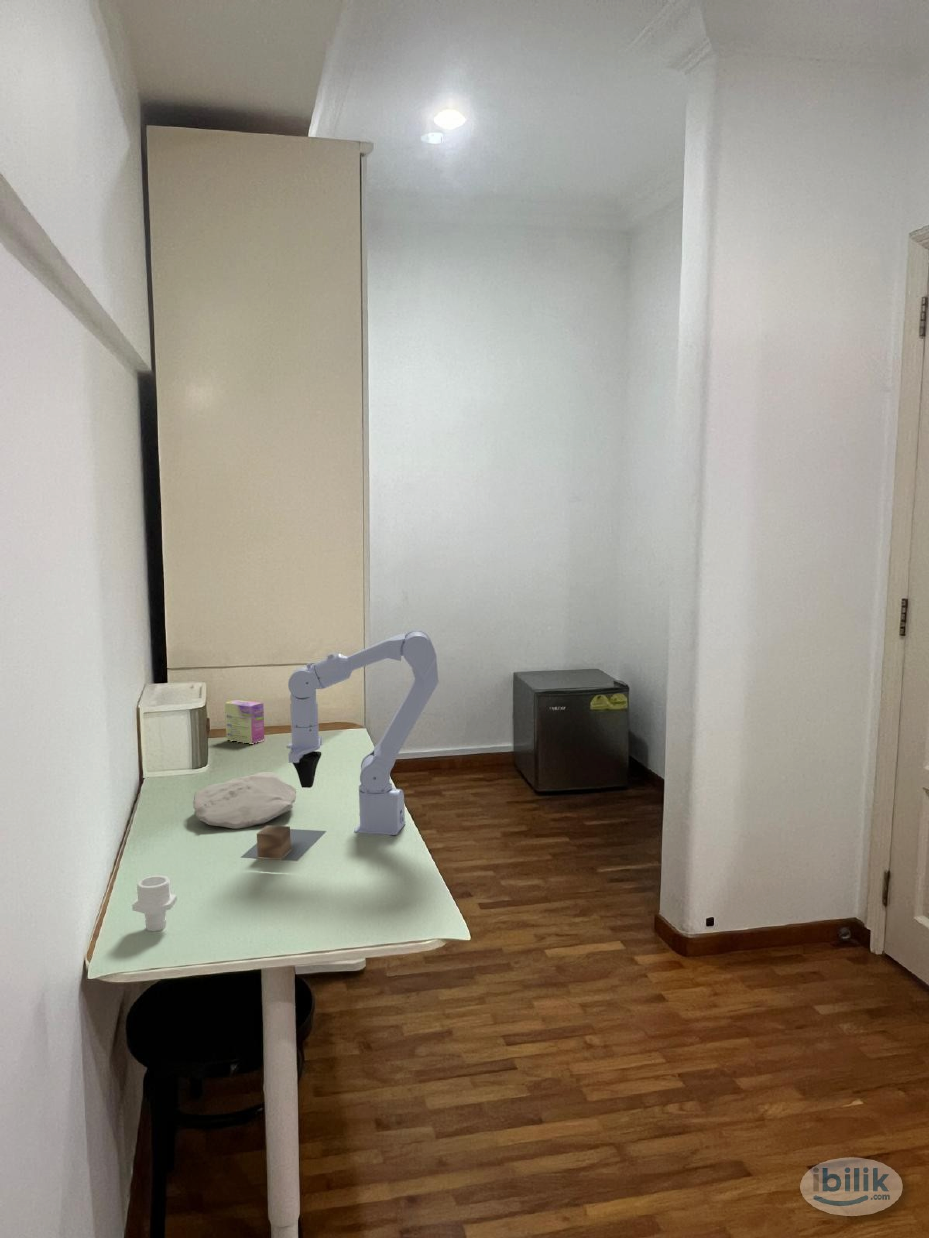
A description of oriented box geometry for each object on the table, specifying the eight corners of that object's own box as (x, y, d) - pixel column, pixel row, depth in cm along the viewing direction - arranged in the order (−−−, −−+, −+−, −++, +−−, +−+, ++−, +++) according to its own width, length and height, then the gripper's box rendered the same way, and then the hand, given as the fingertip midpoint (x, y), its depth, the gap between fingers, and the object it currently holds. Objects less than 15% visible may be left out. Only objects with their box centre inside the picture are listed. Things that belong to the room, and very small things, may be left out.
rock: (305, 786, 234) (292, 838, 204) (210, 791, 232) (183, 843, 203) (303, 757, 232) (290, 805, 203) (208, 761, 231) (181, 810, 201)
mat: (326, 832, 202) (326, 830, 202) (297, 861, 185) (297, 860, 185) (274, 829, 204) (273, 828, 204) (240, 858, 187) (240, 857, 187)
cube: (280, 835, 185) (281, 859, 186) (289, 826, 190) (290, 850, 191) (256, 833, 186) (257, 858, 187) (266, 825, 191) (267, 848, 192)
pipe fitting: (182, 929, 156) (179, 883, 156) (137, 939, 153) (134, 892, 152) (173, 915, 162) (170, 870, 161) (130, 924, 158) (127, 879, 157)
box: (265, 740, 281) (263, 702, 280) (252, 745, 277) (250, 706, 275) (239, 737, 287) (237, 699, 285) (226, 741, 282) (224, 702, 280)
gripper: (299, 716, 207) (301, 776, 209) (273, 732, 193) (276, 796, 195) (329, 717, 206) (332, 777, 208) (306, 733, 192) (308, 797, 194)
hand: (307, 786), depth 201 cm, fingers closed
